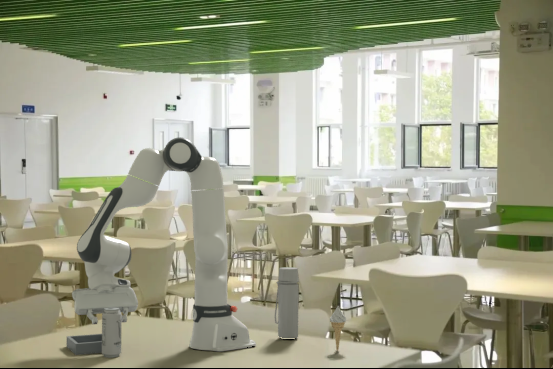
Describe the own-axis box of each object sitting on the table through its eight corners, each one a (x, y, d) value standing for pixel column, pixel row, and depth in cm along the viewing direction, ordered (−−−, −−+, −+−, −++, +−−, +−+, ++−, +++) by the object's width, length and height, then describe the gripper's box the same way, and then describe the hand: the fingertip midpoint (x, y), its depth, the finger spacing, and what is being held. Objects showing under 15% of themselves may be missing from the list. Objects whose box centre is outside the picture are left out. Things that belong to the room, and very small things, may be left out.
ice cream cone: (336, 348, 268) (337, 303, 268) (349, 350, 264) (349, 305, 264) (325, 350, 264) (326, 305, 264) (338, 353, 260) (338, 307, 260)
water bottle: (302, 337, 286) (303, 267, 286) (291, 341, 279) (291, 269, 279) (280, 335, 290) (281, 266, 291) (269, 338, 284) (269, 268, 284)
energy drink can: (118, 358, 250) (119, 310, 250) (99, 357, 250) (100, 309, 250) (123, 354, 256) (123, 307, 256) (104, 353, 256) (104, 307, 256)
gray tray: (108, 343, 272) (108, 333, 272) (118, 351, 260) (118, 340, 260) (66, 346, 266) (66, 336, 266) (75, 354, 254) (75, 343, 254)
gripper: (72, 283, 257) (78, 318, 248) (134, 280, 266) (142, 314, 257) (69, 295, 261) (75, 330, 252) (130, 292, 270) (138, 326, 261)
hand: (110, 322), depth 254 cm, fingers open, 8 cm apart
